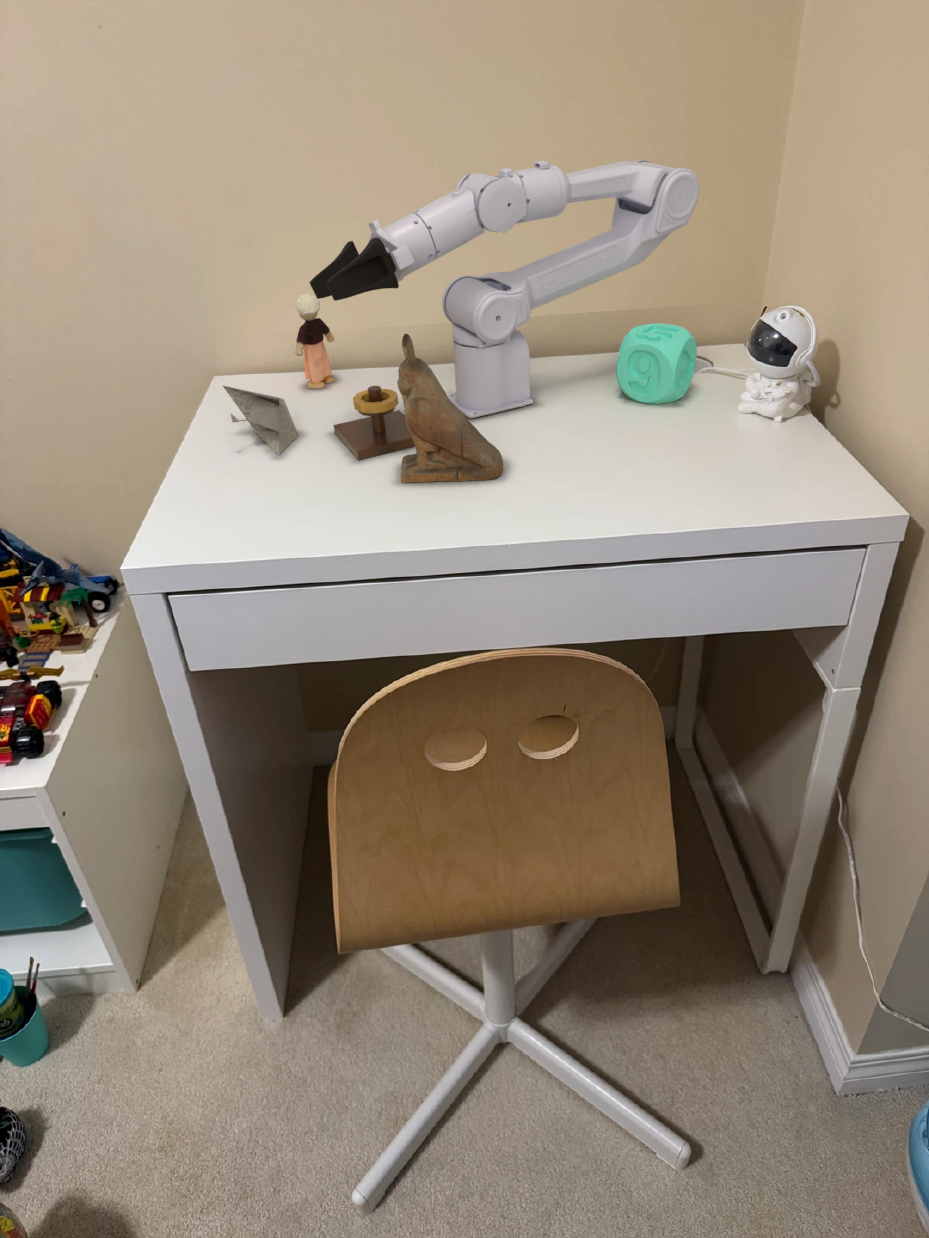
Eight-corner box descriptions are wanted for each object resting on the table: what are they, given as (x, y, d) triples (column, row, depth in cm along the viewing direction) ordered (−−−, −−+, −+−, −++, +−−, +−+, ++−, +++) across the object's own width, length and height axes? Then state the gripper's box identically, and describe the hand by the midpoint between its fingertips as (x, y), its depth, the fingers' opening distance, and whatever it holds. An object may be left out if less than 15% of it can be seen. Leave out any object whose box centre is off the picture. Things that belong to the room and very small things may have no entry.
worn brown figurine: (405, 502, 104) (353, 355, 94) (410, 479, 108) (361, 336, 98) (504, 481, 102) (462, 328, 91) (505, 459, 106) (466, 310, 96)
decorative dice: (694, 387, 121) (700, 327, 116) (671, 408, 116) (676, 347, 111) (638, 378, 125) (642, 320, 120) (614, 398, 119) (617, 338, 115)
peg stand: (399, 418, 118) (395, 369, 114) (427, 443, 111) (422, 392, 107) (334, 433, 115) (327, 384, 111) (358, 460, 108) (351, 408, 104)
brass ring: (389, 392, 113) (388, 384, 112) (405, 407, 109) (404, 399, 108) (347, 401, 111) (346, 394, 111) (362, 417, 107) (361, 409, 107)
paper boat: (326, 429, 113) (273, 437, 106) (304, 465, 117) (251, 475, 110) (268, 363, 115) (213, 367, 108) (249, 400, 119) (194, 406, 112)
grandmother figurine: (319, 373, 132) (306, 285, 125) (342, 375, 131) (330, 286, 124) (294, 393, 127) (278, 302, 119) (318, 395, 125) (304, 303, 118)
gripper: (388, 206, 109) (290, 257, 107) (430, 198, 96) (321, 256, 94) (412, 263, 112) (318, 313, 110) (456, 262, 100) (351, 319, 98)
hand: (321, 291), depth 102 cm, fingers open, 7 cm apart
